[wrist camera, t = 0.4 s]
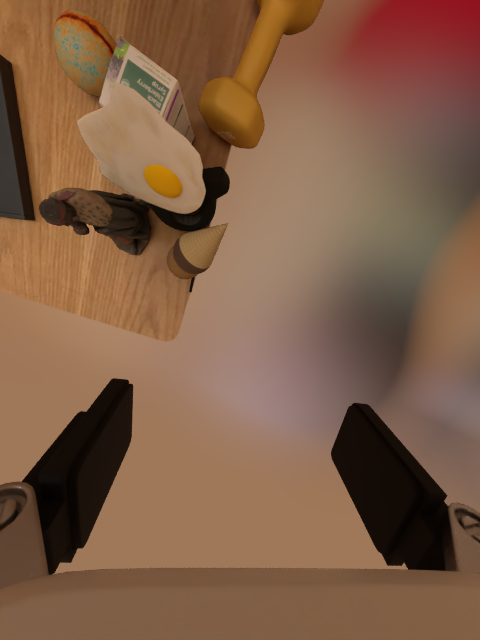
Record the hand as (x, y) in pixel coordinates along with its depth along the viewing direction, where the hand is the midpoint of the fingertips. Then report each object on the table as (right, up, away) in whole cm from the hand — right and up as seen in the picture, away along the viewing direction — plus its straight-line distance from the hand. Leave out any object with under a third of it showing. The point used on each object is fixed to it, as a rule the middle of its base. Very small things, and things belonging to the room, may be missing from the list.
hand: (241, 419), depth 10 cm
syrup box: (-10, +30, +25) cm, 41 cm away
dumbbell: (-1, +38, +16) cm, 41 cm away
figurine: (-18, +20, +29) cm, 39 cm away
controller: (-7, +20, +29) cm, 35 cm away
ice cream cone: (-4, +19, +21) cm, 29 cm away
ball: (-19, +38, +22) cm, 47 cm away
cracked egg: (-10, +22, +16) cm, 29 cm away
